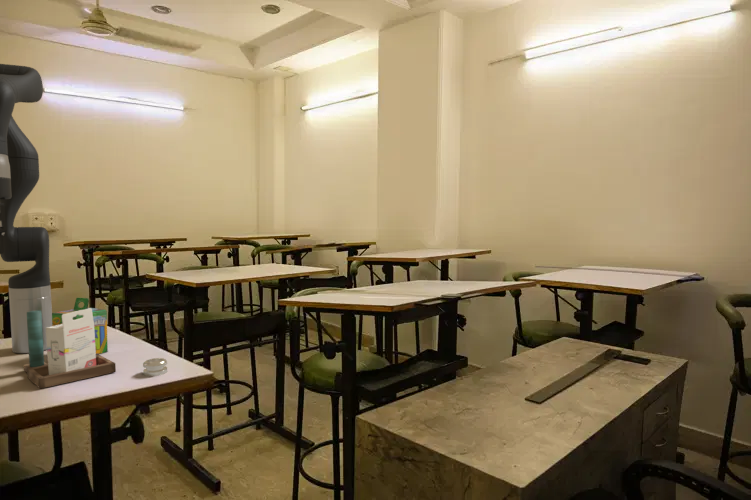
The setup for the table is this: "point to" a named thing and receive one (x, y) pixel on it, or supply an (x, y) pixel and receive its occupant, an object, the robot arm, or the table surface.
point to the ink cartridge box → (71, 343)
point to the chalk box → (98, 319)
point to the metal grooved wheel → (155, 367)
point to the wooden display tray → (40, 367)
